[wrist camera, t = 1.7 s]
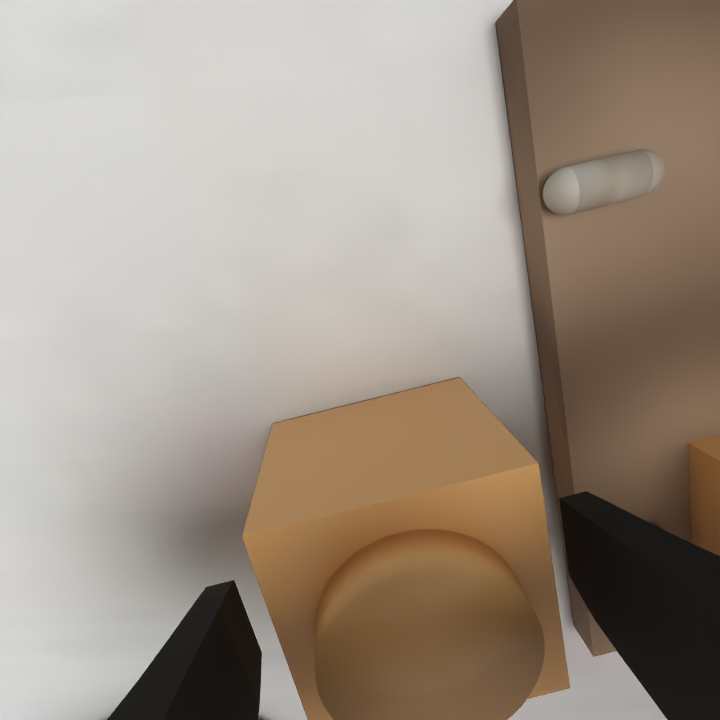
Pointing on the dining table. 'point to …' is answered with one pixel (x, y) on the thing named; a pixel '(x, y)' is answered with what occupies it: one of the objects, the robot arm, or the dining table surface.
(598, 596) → the robot arm
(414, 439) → the cube with round boss
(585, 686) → the dining table surface
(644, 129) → the junction board
